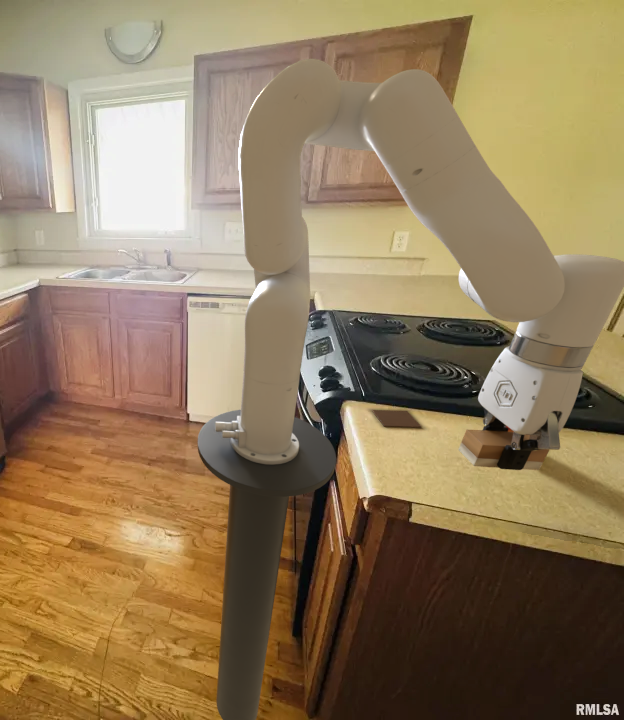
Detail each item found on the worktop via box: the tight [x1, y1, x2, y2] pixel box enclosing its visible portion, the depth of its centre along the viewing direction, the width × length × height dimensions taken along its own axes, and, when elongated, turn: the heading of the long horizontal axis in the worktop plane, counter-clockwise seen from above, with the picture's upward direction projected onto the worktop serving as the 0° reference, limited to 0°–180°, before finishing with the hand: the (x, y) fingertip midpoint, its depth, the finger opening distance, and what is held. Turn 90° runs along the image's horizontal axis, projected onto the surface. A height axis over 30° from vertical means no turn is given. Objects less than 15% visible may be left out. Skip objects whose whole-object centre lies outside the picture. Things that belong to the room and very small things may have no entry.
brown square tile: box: [371, 409, 422, 428], centre depth 81 cm, size 7×6×1 cm
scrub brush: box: [457, 429, 550, 471], centre depth 60 cm, size 9×4×4 cm, turn 83°
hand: (498, 456), depth 61 cm, fingers closed on scrub brush, 4 cm apart
